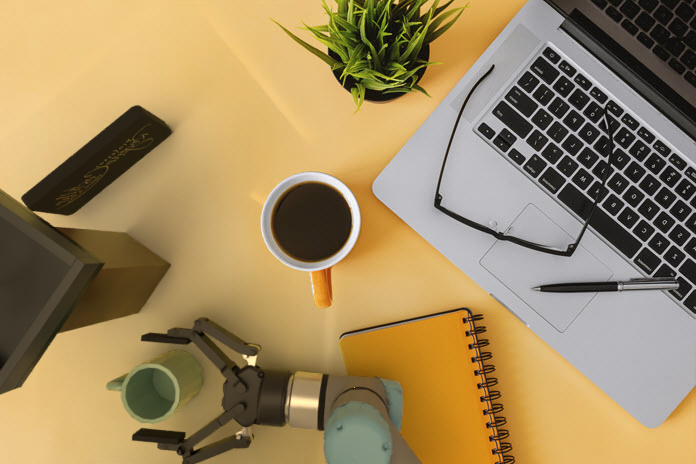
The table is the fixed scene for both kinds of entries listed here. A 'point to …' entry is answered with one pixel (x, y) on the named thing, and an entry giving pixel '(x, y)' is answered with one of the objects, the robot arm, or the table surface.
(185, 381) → the mug
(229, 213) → the table surface
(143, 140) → the nameplate
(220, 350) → the robot arm
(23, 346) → the tray
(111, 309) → the stand
